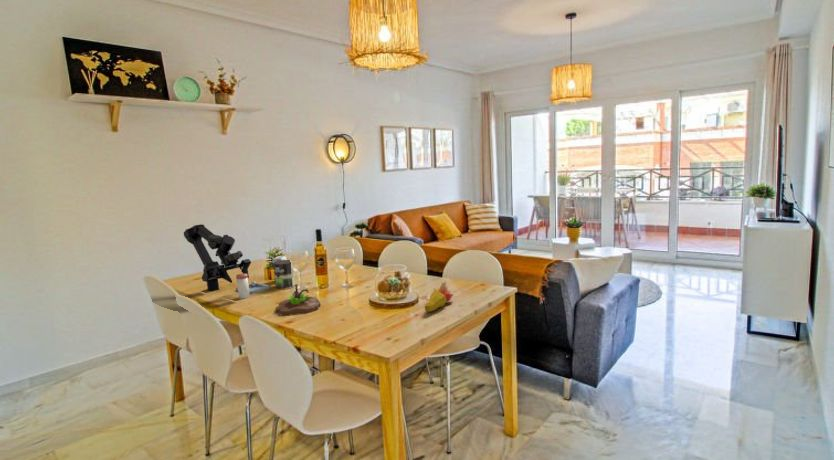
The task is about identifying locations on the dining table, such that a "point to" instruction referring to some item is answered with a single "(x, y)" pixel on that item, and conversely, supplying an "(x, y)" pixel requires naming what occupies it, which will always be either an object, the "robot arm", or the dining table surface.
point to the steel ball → (254, 283)
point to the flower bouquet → (438, 297)
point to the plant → (298, 303)
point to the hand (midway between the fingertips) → (240, 280)
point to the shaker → (243, 286)
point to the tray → (257, 288)
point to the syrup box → (279, 258)
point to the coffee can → (283, 274)
